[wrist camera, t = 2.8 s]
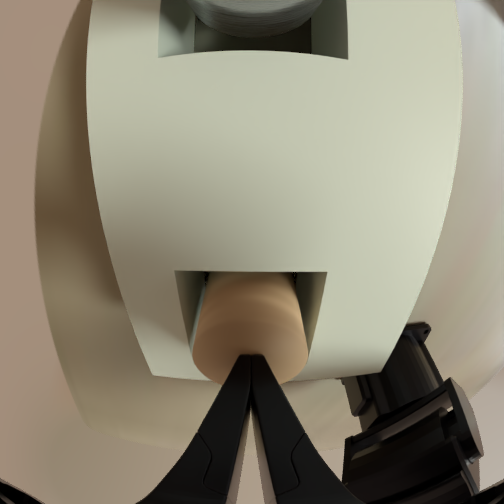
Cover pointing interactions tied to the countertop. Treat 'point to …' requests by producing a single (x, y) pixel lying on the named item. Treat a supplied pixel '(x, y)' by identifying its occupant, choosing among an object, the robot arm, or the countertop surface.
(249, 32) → the steel peg
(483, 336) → the countertop surface
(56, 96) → the countertop surface
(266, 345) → the oak peg
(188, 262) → the socket block
